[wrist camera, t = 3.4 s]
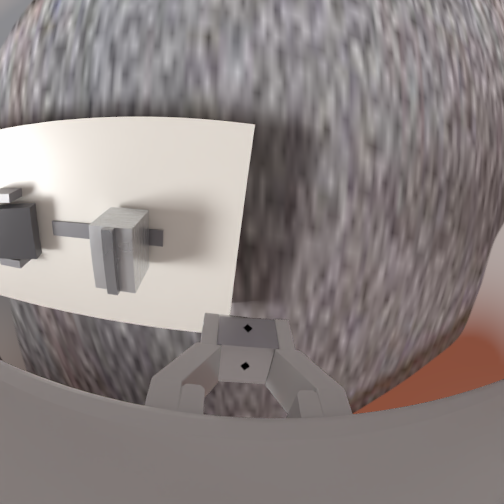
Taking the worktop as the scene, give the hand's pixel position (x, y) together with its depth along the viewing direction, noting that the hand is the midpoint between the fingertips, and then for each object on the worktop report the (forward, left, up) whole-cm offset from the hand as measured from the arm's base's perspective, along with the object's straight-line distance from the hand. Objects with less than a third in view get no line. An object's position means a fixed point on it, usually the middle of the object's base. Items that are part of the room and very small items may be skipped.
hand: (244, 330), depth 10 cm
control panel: (-10, +8, -12) cm, 17 cm away
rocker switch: (-13, +11, -6) cm, 18 cm away
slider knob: (-5, +4, -7) cm, 10 cm away
